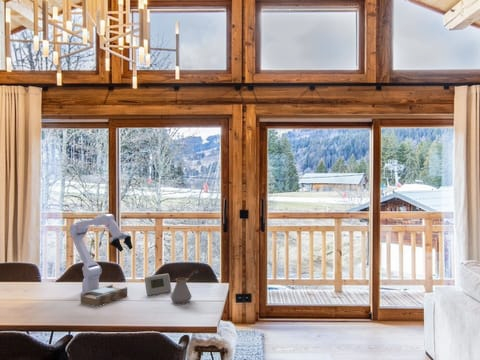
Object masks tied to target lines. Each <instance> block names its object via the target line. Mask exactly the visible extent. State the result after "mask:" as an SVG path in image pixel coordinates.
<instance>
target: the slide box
mask: <svg viewBox="0 0 480 360" xmlns="http://www.w3.org/2000/svg"><path fill="white" fill-rule="evenodd" d="M104 287H107V288H113V289H117V290H115V291H112V292H109V293H106V294H102V295H94V294H91V291H88V292H85V293H80V304H82V303H83V304H82V305H87V304H89V305H88V306H92V305H94V306H93V307H96V306H98V307H101V306H103V304H104V305H106V303H107V304H110V303H112V302H115V301H118V300H120V299H124V298H126V297H128V286H124V287H116V286H114V285H113V284H109V285H106V286H105V285H104V286H102V287H99V288H98V289H101V288H104ZM95 290H97V289H95ZM92 291H94V290H92ZM109 302H110V303H109ZM100 305H101V306H100Z"/></svg>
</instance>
